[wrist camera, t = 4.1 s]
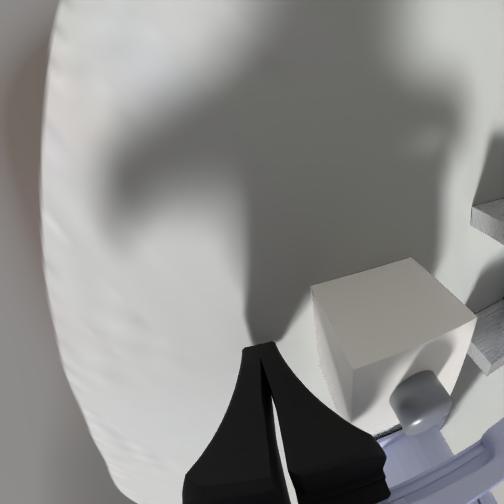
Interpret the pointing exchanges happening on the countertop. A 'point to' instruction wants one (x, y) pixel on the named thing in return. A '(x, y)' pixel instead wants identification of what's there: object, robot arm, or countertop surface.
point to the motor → (499, 314)
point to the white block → (391, 345)
